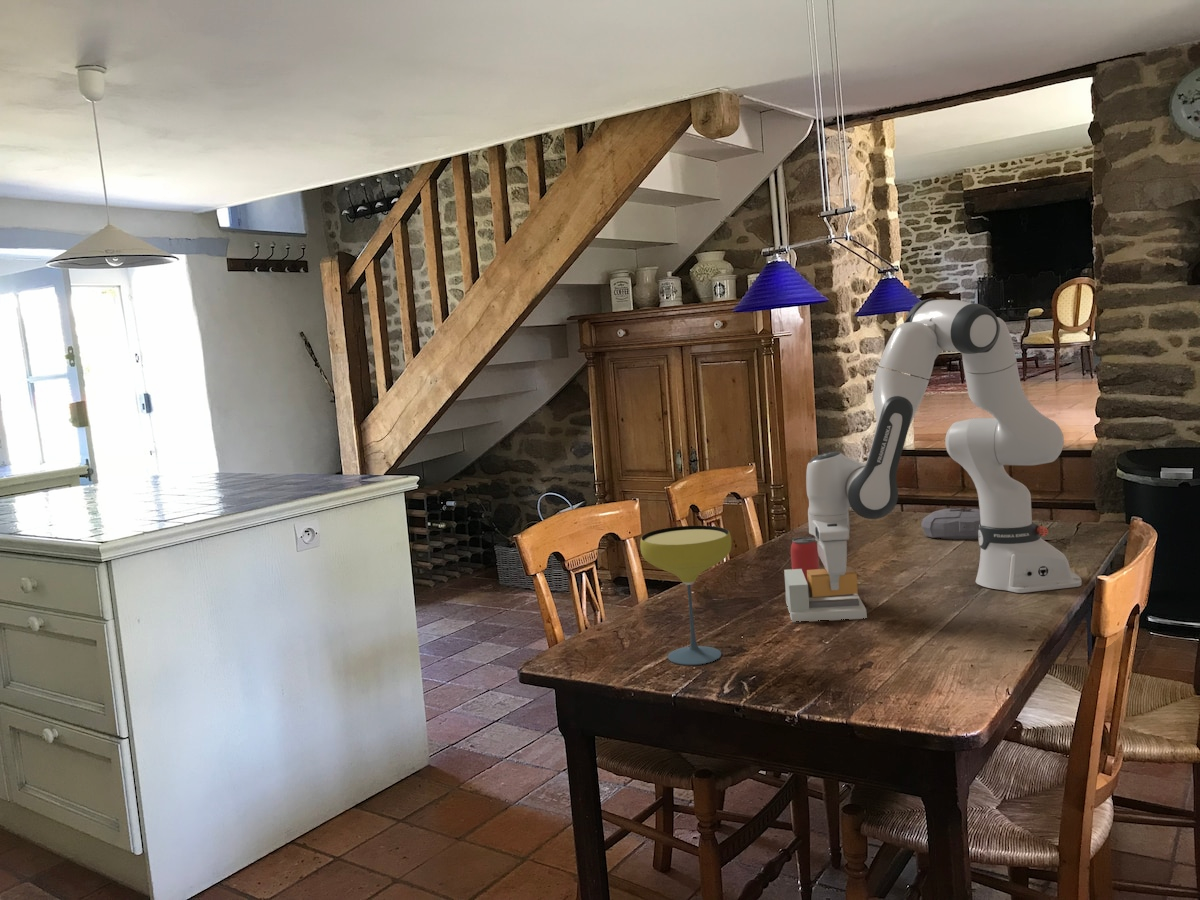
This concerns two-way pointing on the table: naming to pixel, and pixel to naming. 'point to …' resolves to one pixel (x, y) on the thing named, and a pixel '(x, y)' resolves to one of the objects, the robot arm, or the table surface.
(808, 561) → the beer can
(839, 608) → the white l-shaped stand
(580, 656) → the table surface
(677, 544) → the cocktail glass
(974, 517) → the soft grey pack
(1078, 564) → the table surface
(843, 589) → the cardboard box
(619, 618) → the table surface
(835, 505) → the robot arm
